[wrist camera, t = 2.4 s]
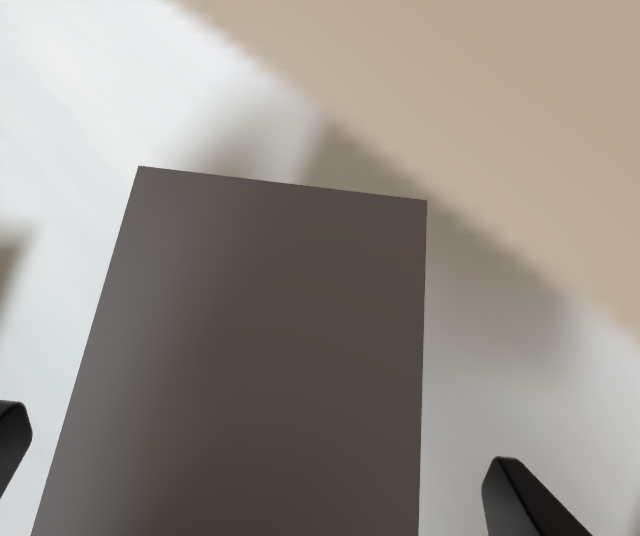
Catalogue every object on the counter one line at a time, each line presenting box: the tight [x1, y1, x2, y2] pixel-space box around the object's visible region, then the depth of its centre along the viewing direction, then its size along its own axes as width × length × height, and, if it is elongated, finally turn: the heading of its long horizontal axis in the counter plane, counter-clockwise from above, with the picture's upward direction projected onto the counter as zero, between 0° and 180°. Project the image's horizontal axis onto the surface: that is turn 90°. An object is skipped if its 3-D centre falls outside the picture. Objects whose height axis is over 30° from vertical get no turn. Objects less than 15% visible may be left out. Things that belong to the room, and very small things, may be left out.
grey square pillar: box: [31, 166, 427, 536], centre depth 11 cm, size 5×4×12 cm
